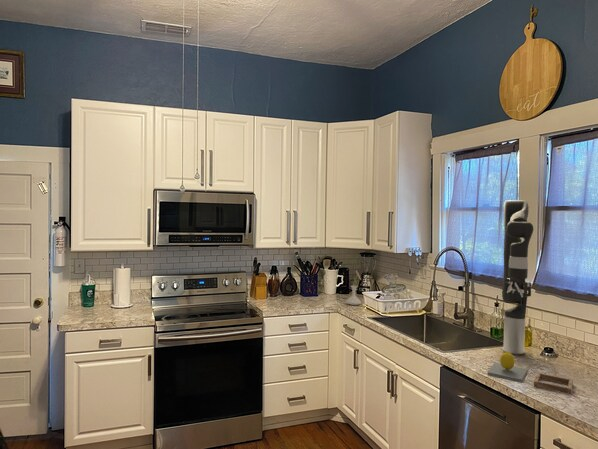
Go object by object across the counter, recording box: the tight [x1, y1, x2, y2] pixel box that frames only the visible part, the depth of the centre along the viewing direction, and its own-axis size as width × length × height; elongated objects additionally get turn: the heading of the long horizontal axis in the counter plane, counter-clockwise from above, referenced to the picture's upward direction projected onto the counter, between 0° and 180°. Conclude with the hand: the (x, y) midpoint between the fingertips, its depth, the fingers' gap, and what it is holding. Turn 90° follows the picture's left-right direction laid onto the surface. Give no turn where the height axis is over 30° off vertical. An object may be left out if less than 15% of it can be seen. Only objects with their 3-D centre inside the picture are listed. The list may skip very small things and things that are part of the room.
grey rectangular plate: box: [487, 362, 529, 383], centre depth 185 cm, size 16×13×1 cm
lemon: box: [499, 351, 515, 370], centre depth 185 cm, size 6×6×8 cm
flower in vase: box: [345, 270, 362, 306], centre depth 324 cm, size 13×11×25 cm
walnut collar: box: [533, 372, 574, 395], centre depth 172 cm, size 12×12×2 cm
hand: (516, 303), depth 192 cm, fingers open, 8 cm apart
